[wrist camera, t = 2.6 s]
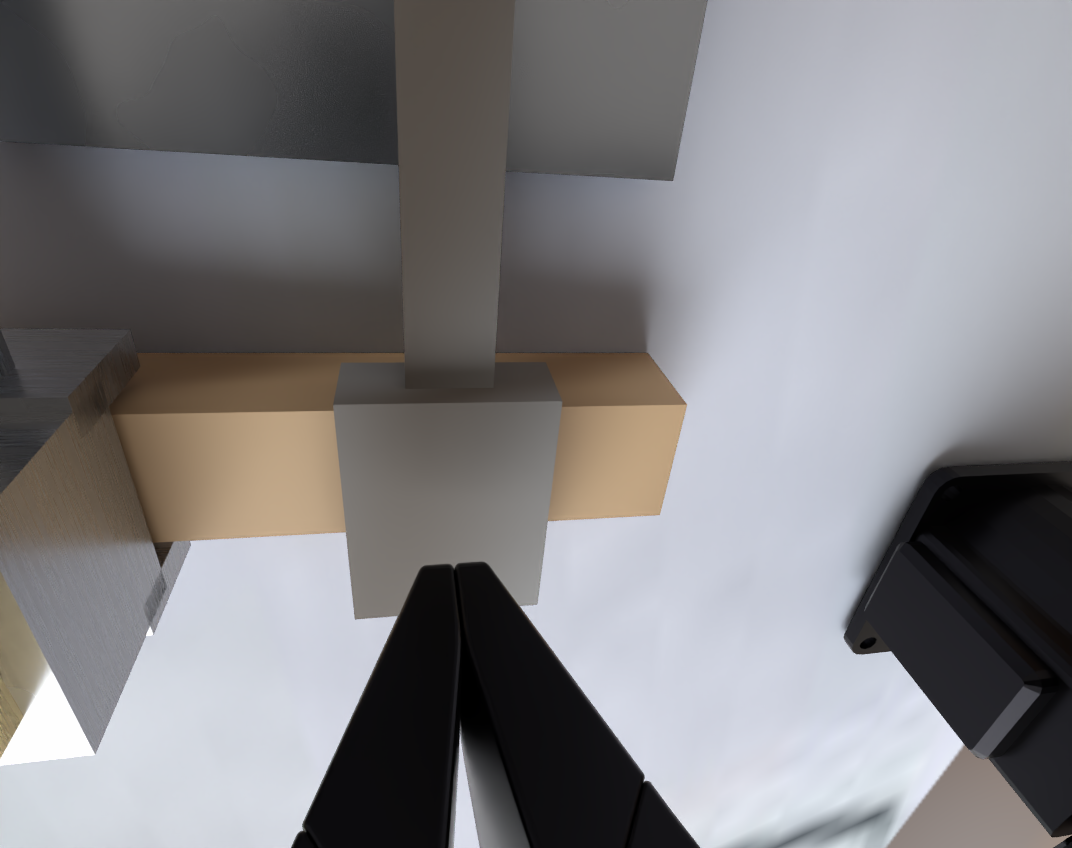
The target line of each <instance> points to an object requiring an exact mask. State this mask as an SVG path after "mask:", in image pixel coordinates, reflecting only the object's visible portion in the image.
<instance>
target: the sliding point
mask: <svg viewBox="0 0 1072 848" xmlns="http://www.w3.org/2000/svg"><path fill="white" fill-rule="evenodd" d="M140 367H141V366H140V362H139V359H138V355H137V351H136V348H135V344H134V341H133V337H132V334H131V330H130V329H18V328H0V766H1V765H10V764H19V763H28V762H36V761H45V760H54V759H63V758H71V757H80V756H89V755H95V754H96V751H97V749H98V747H99V744H100V742H101V740H102V737H103V735H104V733H105V730H106V728H107V726H108V723H109V721H110V719H111V716H112V714H113V712H114V709H115V707H116V705H117V702H118V700H119V698H120V695H121V693H122V691H123V688H124V686H125V684H126V681H127V679H128V677H129V674H130V672H131V670H132V667H133V665H134V663H135V660H136V658H137V656H138V653H139V651H140V649H141V646H142V644H143V642H144V639H145V637H146V636H149V635H154V632H155V630H156V627H157V625H158V623H159V620H160V618H161V615H162V613H163V611H164V608H165V606H166V603H167V601H168V599H169V596H170V594H171V591H172V589H173V587H174V584H175V582H176V579H177V577H178V575H179V572H180V570H181V567H182V565H183V563H184V560H185V558H186V555H187V553H188V551H189V548H190V546H191V544H190V541H174V542H156V543H153V542H152V539H151V536H150V533H149V530H148V527H147V524H146V520H145V517H144V514H143V511H142V508H141V505H140V502H139V499H138V496H137V493H136V490H135V487H134V483H133V480H132V477H131V474H130V471H129V468H128V465H127V462H126V459H125V456H124V453H123V449H122V446H121V443H120V440H119V437H118V434H117V431H116V428H115V425H114V422H113V419H112V416H111V412H110V409H109V406H110V405H111V403H112V402H113V401H114V400H115V398H116V397H117V396H118V394H119V393H120V392H121V391H122V389H123V388H124V387H125V386H126V384H127V383H128V382H129V381H130V379H131V378H132V377H133V376H134V374H135V373H136V372H137V370H138V369H139V368H140Z"/></svg>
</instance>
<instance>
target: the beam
mask: <svg viewBox="0 0 1072 848" xmlns="http://www.w3.org/2000/svg"><path fill="white" fill-rule="evenodd" d="M514 11H515V0H394V25H395V58H396V92H397V125H398V159H399V192H400V225H401V259H402V292H403V325H404V353H137V355H138V359H139V362H140V366H141V367H140V368H139V369H138V370H137V372H136V373H135V374H134V376H133V377H132V378H131V379H130V381H129V382H128V383H127V384H126V386H125V387H124V388H123V389H122V391H121V392H120V393H119V394H118V396H117V397H116V398H115V400H114V401H113V402H112V403H111V405H110V406H109V409H110V412H111V416H112V419H113V422H114V425H115V428H116V431H117V434H118V437H119V440H120V443H121V446H122V449H123V453H124V456H125V459H126V462H127V465H128V468H129V471H130V474H131V477H132V480H133V483H134V487H135V490H136V493H137V496H138V499H139V502H140V505H141V508H142V511H143V514H144V517H145V520H146V524H147V527H148V530H149V533H150V536H151V539H152V542H153V543H156V542H174V541H192V540H211V539H229V538H247V537H266V536H284V535H302V534H320V533H339V532H346V537H347V547H348V557H349V566H350V576H351V586H352V596H353V606H354V615H355V619H365V618H377V617H390V616H398V615H399V613H400V611H401V608H402V606H403V604H404V602H405V600H406V598H407V595H408V593H409V591H410V589H411V587H412V585H413V582H414V580H415V578H416V576H417V574H418V572H419V570H420V568H421V567H423V566H424V565H435V564H451V565H452V566H453V567H454V568H455V566H456V565H457V564H458V563H465V562H480V561H483V562H486V563H487V564H488V565H489V566H490V567H491V568H492V570H493V571H494V572H495V574H496V575H497V576H498V578H499V579H500V581H501V582H502V583H503V585H504V586H505V587H506V589H507V590H508V591H509V593H510V594H511V595H512V597H513V598H514V599H515V601H516V602H517V603H518V605H519V606H524V605H537V603H538V595H539V587H540V579H541V571H542V563H543V555H544V547H545V538H546V530H547V522H548V521H559V520H577V519H595V518H613V517H632V516H650V515H660V512H661V508H662V504H663V500H664V496H665V492H666V488H667V484H668V480H669V476H670V472H671V468H672V463H673V459H674V455H675V451H676V447H677V443H678V439H679V435H680V431H681V427H682V423H683V419H684V415H685V411H686V407H687V404H686V403H685V401H684V400H683V399H682V397H681V396H680V395H679V393H678V392H677V391H676V389H675V388H674V387H673V386H672V384H671V383H670V382H669V380H668V379H667V378H666V376H665V375H664V374H663V372H662V371H661V370H660V368H659V367H658V366H657V364H656V363H655V362H654V360H653V359H652V358H651V357H650V355H649V354H648V353H496V335H497V317H498V299H499V281H500V263H501V245H502V227H503V209H504V191H505V173H506V155H507V137H508V119H509V101H510V83H511V65H512V47H513V29H514Z"/></svg>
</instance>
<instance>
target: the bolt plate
mask: <svg viewBox="0 0 1072 848" xmlns="http://www.w3.org/2000/svg"><path fill="white" fill-rule="evenodd" d="M706 5H707V0H515V11H514V29H513V47H512V65H511V83H510V101H509V119H508V137H507V155H506V171H512V172H529V173H546V174H563V175H580V176H597V177H614V178H631V179H648V180H665V181H673V178H674V172H675V167H676V162H677V157H678V152H679V146H680V141H681V136H682V131H683V125H684V120H685V115H686V110H687V105H688V99H689V94H690V89H691V84H692V78H693V73H694V68H695V63H696V57H697V52H698V47H699V42H700V37H701V31H702V26H703V21H704V16H705V10H706ZM0 141H3V142H20V143H37V144H54V145H71V146H88V147H105V148H122V149H139V150H156V151H173V152H190V153H207V154H224V155H241V156H258V157H275V158H292V159H309V160H326V161H343V162H360V163H377V164H394V165H399V159H398V125H397V92H396V58H395V25H394V0H0Z"/></svg>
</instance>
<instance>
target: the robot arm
mask: <svg viewBox="0 0 1072 848" xmlns="http://www.w3.org/2000/svg"><path fill="white" fill-rule="evenodd" d="M844 640H845V642H846V643H847V645H848V646H849V647H850V649H851V650H852V651H853V653H855V654H870V653H880V652H889V651H892V653H893V654H894V655H895V657H896V658H897V659H898V660H899V662H900V663H901V664H902V665H903V667H904V668H905V669H906V671H907V672H908V673H909V674H910V676H911V677H912V678H913V679H914V681H915V682H916V683H917V685H918V686H919V687H920V688H921V690H922V691H923V692H924V693H925V695H926V696H927V697H928V699H929V700H930V701H931V702H932V704H933V705H934V706H935V707H936V709H937V710H938V711H939V713H940V714H941V715H942V716H943V718H944V719H945V720H946V721H947V723H948V724H949V725H950V726H951V728H952V729H953V730H954V732H955V733H956V734H957V735H958V737H959V738H960V739H961V740H962V742H963V743H964V744H965V746H966V747H967V748H968V749H969V750H970V751H971V752H972V753H973V754H974V755H975V756H976V757H978V758H981V759H988V758H989V760H990V761H991V762H992V763H993V765H994V766H995V767H996V768H997V770H998V771H999V772H1000V773H1001V774H1002V776H1003V777H1004V778H1005V780H1006V781H1007V782H1008V783H1009V784H1010V786H1011V787H1012V788H1013V790H1014V791H1015V792H1016V793H1017V794H1018V796H1019V797H1020V798H1021V800H1022V801H1023V802H1024V803H1025V804H1026V806H1027V807H1028V808H1029V809H1030V811H1031V812H1032V813H1033V814H1034V816H1035V817H1036V818H1037V819H1038V821H1039V822H1040V823H1041V824H1042V825H1043V827H1044V828H1045V829H1046V831H1047V832H1048V833H1049V834H1050V836H1051V837H1061V836H1066V835H1071V834H1072V462H1048V463H1025V464H1001V465H977V466H954V467H945V468H941V469H939V470H937V471H935V472H933V473H932V474H931V475H930V476H929V477H927V479H926V480H925V481H924V483H923V484H922V486H921V488H920V490H919V492H918V494H917V496H916V498H915V500H914V501H913V503H912V505H911V507H910V509H909V511H908V513H907V515H906V517H905V519H904V521H903V523H902V525H901V526H900V528H899V530H898V532H897V534H896V536H895V538H894V540H893V542H892V544H891V546H890V548H889V549H888V551H887V553H886V555H885V557H884V559H883V561H882V563H881V565H880V567H879V569H878V571H877V573H876V574H875V576H874V578H873V580H872V582H871V584H870V586H869V588H868V590H867V592H866V594H865V596H864V597H863V599H862V601H861V603H860V605H859V607H858V609H857V611H856V613H855V615H854V617H853V619H852V621H851V622H850V624H849V626H848V628H847V630H846V632H845V634H844ZM460 734H461V743H462V750H463V756H464V762H465V768H466V773H467V779H468V784H469V790H470V796H471V801H472V807H473V812H474V818H475V823H476V829H477V834H478V840H479V846H480V848H700V847H699V845H698V844H697V843H696V842H695V840H694V839H693V838H692V836H691V835H690V834H689V833H688V831H687V830H686V829H685V828H684V826H683V825H682V824H681V822H680V821H679V820H678V819H677V817H676V816H675V815H674V813H673V812H672V811H671V809H670V808H669V807H668V805H667V804H666V803H665V801H664V800H663V799H662V797H661V796H660V795H659V793H658V792H657V790H656V789H655V788H654V786H653V785H652V784H651V782H649V781H645V782H644V774H643V772H642V771H641V769H640V768H639V767H638V765H637V764H636V763H635V761H634V760H633V759H632V757H631V756H630V755H629V753H628V752H627V750H626V749H625V748H624V746H623V745H622V744H621V742H620V741H619V740H618V738H617V737H616V736H615V734H614V733H613V732H612V730H611V729H610V728H609V726H608V725H607V724H606V722H605V721H604V719H603V718H602V717H601V715H600V714H599V713H598V711H597V710H596V709H595V707H594V706H593V705H592V703H591V702H590V701H589V699H588V698H587V697H586V695H585V694H584V692H583V691H582V690H581V688H580V687H579V686H578V684H577V683H576V682H575V680H574V679H573V678H572V676H571V675H570V674H569V672H568V671H567V670H566V668H565V667H564V666H563V664H562V663H561V661H560V660H559V659H558V657H557V656H556V655H555V653H554V652H553V651H552V649H551V648H550V647H549V645H548V644H547V643H546V641H545V640H544V639H543V637H542V636H541V634H540V633H539V632H538V630H537V629H536V628H535V626H534V625H533V624H532V622H531V621H530V620H529V618H528V617H527V616H526V614H525V613H524V612H523V610H522V609H521V607H520V606H519V605H518V603H517V602H516V601H515V599H514V598H513V597H512V595H511V594H510V593H509V591H508V590H507V589H506V587H505V586H504V585H503V583H502V582H501V581H500V579H499V578H498V576H497V575H496V574H495V572H494V571H493V570H492V568H491V567H490V566H489V565H488V564H487V563H486V562H483V561H480V562H465V563H458V564H457V565H456V566H455V568H454V567H453V566H452V565H451V564H435V565H424V566H423V567H421V568H420V570H419V572H418V574H417V576H416V578H415V580H414V582H413V585H412V587H411V589H410V591H409V593H408V595H407V598H406V600H405V602H404V604H403V606H402V608H401V611H400V613H399V615H398V617H397V619H396V621H395V624H394V626H393V628H392V630H391V632H390V635H389V637H388V639H387V641H386V643H385V645H384V648H383V650H382V652H381V654H380V656H379V658H378V661H377V663H376V665H375V667H374V669H373V671H372V674H371V676H370V678H369V680H368V682H367V685H366V687H365V689H364V691H363V693H362V695H361V698H360V700H359V702H358V704H357V706H356V708H355V711H354V713H353V715H352V717H351V719H350V721H349V724H348V726H347V728H346V730H345V732H344V734H343V737H342V739H341V741H340V743H339V745H338V748H337V750H336V752H335V754H334V756H333V758H332V761H331V763H330V765H329V767H328V769H327V771H326V774H325V776H324V778H323V780H322V782H321V784H320V787H319V789H318V791H317V793H316V795H315V798H314V800H313V802H312V804H311V806H310V808H309V811H308V813H307V815H306V817H305V819H304V821H303V824H302V827H303V831H300V832H299V833H298V834H297V836H296V838H295V840H294V842H293V844H292V846H291V848H454V832H455V815H456V798H457V781H458V764H459V738H460ZM643 782H644V783H643ZM1054 848H1072V836H1070V837H1069V838H1067V839H1066V840H1064V841H1063V842H1061V843H1060V844H1058V845H1057V846H1055V847H1054Z"/></svg>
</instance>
